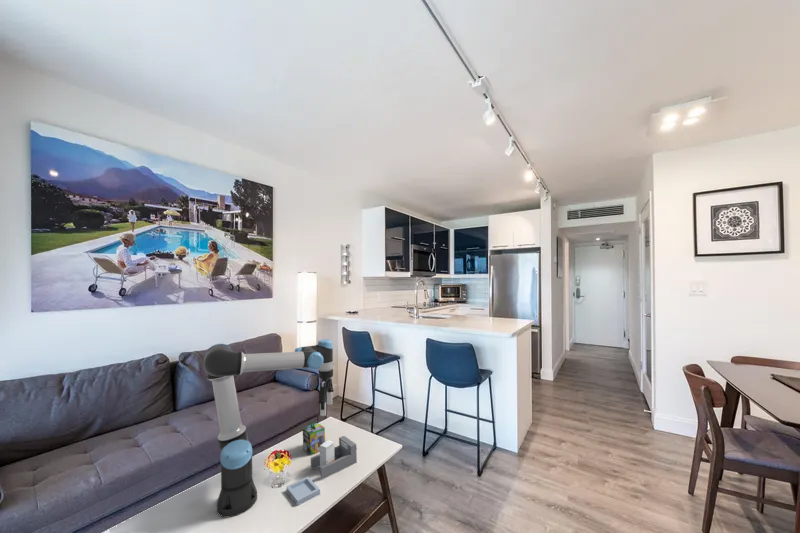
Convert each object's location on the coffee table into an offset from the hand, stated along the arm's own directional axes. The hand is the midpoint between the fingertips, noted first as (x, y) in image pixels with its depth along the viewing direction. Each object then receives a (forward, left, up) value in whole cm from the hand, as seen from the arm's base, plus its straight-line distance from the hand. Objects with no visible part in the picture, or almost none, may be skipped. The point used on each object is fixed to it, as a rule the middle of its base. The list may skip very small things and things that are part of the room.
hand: (326, 409), depth 165 cm
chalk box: (-3, +10, -24) cm, 26 cm away
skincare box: (-6, -11, -24) cm, 26 cm away
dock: (-2, -11, -23) cm, 26 cm away
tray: (-22, -19, -23) cm, 37 cm away
